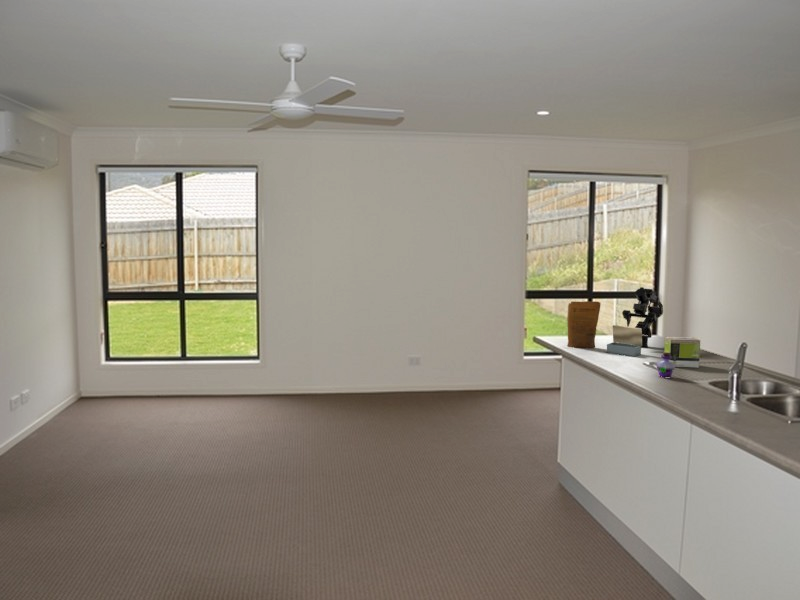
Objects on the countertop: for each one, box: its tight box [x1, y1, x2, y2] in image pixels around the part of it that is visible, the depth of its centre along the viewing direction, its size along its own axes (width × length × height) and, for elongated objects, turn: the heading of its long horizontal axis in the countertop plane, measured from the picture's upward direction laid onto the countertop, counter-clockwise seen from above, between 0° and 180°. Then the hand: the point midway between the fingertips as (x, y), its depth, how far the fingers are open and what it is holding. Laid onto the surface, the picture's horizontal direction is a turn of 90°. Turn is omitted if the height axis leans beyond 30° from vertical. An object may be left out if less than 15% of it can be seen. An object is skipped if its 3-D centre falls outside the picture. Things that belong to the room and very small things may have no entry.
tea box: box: [663, 336, 701, 369], centre depth 332 cm, size 15×10×15 cm
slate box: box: [606, 341, 642, 358], centre depth 362 cm, size 10×16×5 cm, turn 51°
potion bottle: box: [655, 351, 676, 378], centre depth 305 cm, size 9×9×12 cm
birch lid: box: [611, 324, 642, 346], centre depth 364 cm, size 10×16×1 cm
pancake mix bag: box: [566, 300, 601, 349], centre depth 377 cm, size 7×19×28 cm, turn 83°
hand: (635, 327), depth 373 cm, fingers open, 9 cm apart
